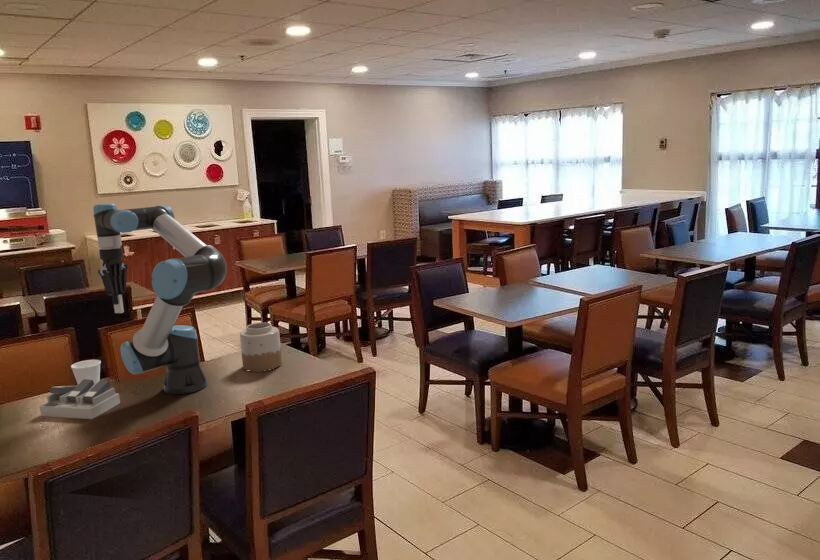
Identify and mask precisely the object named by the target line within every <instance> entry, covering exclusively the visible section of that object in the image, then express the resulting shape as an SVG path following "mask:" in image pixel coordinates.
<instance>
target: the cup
mask: <svg viewBox="0 0 820 560" xmlns="http://www.w3.org/2000/svg"><path fill="white" fill-rule="evenodd" d="M101 364H102V361H101V359H86V360H81V361H78V362H75V363H73V364H71V365H70V368H71V370H72V373H73V375H74V377H75V381H76V383H77V386H78V385H79V384H80V383H81V381H82V380H83V379H87V380H93V382H94V385H93V386H92V387H91V388H90V390H91V389H92V388H93V387H94V386H95V385H96V384H97V383H98V382H99V381H101V380H100V378H101ZM90 390H89V391H90Z"/></svg>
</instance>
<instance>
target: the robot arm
mask: <svg viewBox="0 0 820 560" xmlns="http://www.w3.org/2000/svg"><path fill="white" fill-rule="evenodd" d="M93 219H94V226H95V231H96V237H97V245H98V248H99V250H98V253H99V259H100V260H101V261H102V268H101V269H98V270H97V272H98V274H99V276H100V277H101V281H102V283H103V286H104V289H105V290H104V291H105V292H106V295H107V296H108V297H109V296H110V297H111V299H112V305H113V309H114V314H123V313H124V312H125V310H124V297H123V295H125V293H126V291H127V275H128V274H127V270H128V267H129V265H128V263H127V264H126V263H124V262H123V260H122V258H123V257H124V253H123V248H122V246H123V243H122V237H121V234H125V233H132V232H133V231H134V232H135V231H143V230H149V229H152V230H153V231H154V232H155V233H157V234H158V235H159V236H160V237H162V239H163V240H165V241H166V242H167V243H169V245H170V246H172V247H173V248H174V249H176V251H177V252H179V253H180V254H181V255H182V256H183V257H179V258H169V259H166V260H163V261H160V262H158V263H157V264H156V265H155V266H154V268H153V271H152V273H151V278H152V280H151V286H152V289H153V291H154V293H155V295H156V296H155V299H154V300H153V301H154V302H153V303H152V306H151V308H150V311H149V312H148V315H147V317H146V319H145V321H144V324H143V326H142V328H141V329H139V330H137V331H136V332H135V333H134V334H133V336H132V339H131V340H128V341H127V340H126V341H125V342H122V344H121V345H120V354H121V355H120V356H121V360H122V362H123V365H124V366H125V368H126V369H127V371H128V372H129V373H131V375H138V374H144V373H146V372H149V371H152V370H156V369H159V368H160V369H161V368H162V367H166V372H165V377H164V381H163V391H164V392H165V393H166V394H168V395H169V394H170V395H185V394H190V393H194V392H198V391H201V390H203V389H204V388H206V387H207V385H208V379H207V376H206V374H205V372H204V370H203V368H202V366H201V362H200V353H199V345H198V344H199V342H198V335H197V330H196V328H195V327H194V326H191V325H185V324H182V325H181V324H178V325H177V324H175V323H176V321H177V320H178V317H179V315H180V313H181V311H182V309H183V307H184V306H187V305H188V304H190V303H191V301H192V300H193V299H194V296H195V294H197V293H202V292H205V291H209V290H211V291H212V290H214V289H216V288H217V287H219V286H220V285H221V284H222V283H223V282H224V280H225V278H226V276H227V272H228V265H227V261H226V259H225V257H224V255H223V254H222V253H221V251H220V250H218V249H217V248H216V247H215V246H213V245H210V244H209V245H208V244H206V243H205V242H203V241H202V240H201V239H200V238H198V237H197V236H196V235H195V234H193V232H191V231H190V230H189V229H187V228H186V227H185V226H184V225H182V224H181V222H179V221H177V220H176V219H175V213H174V211H173V209H172V207H171V206H169V205H155V206H147V207H137V208H136V207H135V208H125V209H118V207H117V205H116V204H115V203H99V204H95V205H93Z"/></svg>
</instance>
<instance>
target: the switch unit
mask: <svg viewBox="0 0 820 560" xmlns="http://www.w3.org/2000/svg"><path fill="white" fill-rule="evenodd" d="M72 391H73V390H72ZM72 391H70V392H68V393H62V394H54V393H50V394H48V395H47V396H46V399H47V402H45V403H44V404H42V405H40V406H39V411H40V416H41V417H50V418H51V417H52V418H67V419H68V418H69V419H83V420H84V419H85V420H93V419H94V418H97V417H98V416H100V415H102V414H104V413H105V412H107V411H109V410H111V409H112V408H114V407H116V406H117V405H119V404H121V398H120V393H116V389H115V387H111V388H110V389H109V388H108V389H107V390H106V391H105V392H104V393H102V394H100V395H98V396H96V397H94V398H92V400H93V402H85V400H84V398H83V396H84V395H85V394H87V393H88V392H89V391H88V392H86V393H84V394H82V395H80V396H78V397H76V402H74V401H69V400H68V398H67V396H68V395H69V394H70V393H71V392H72Z"/></svg>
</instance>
